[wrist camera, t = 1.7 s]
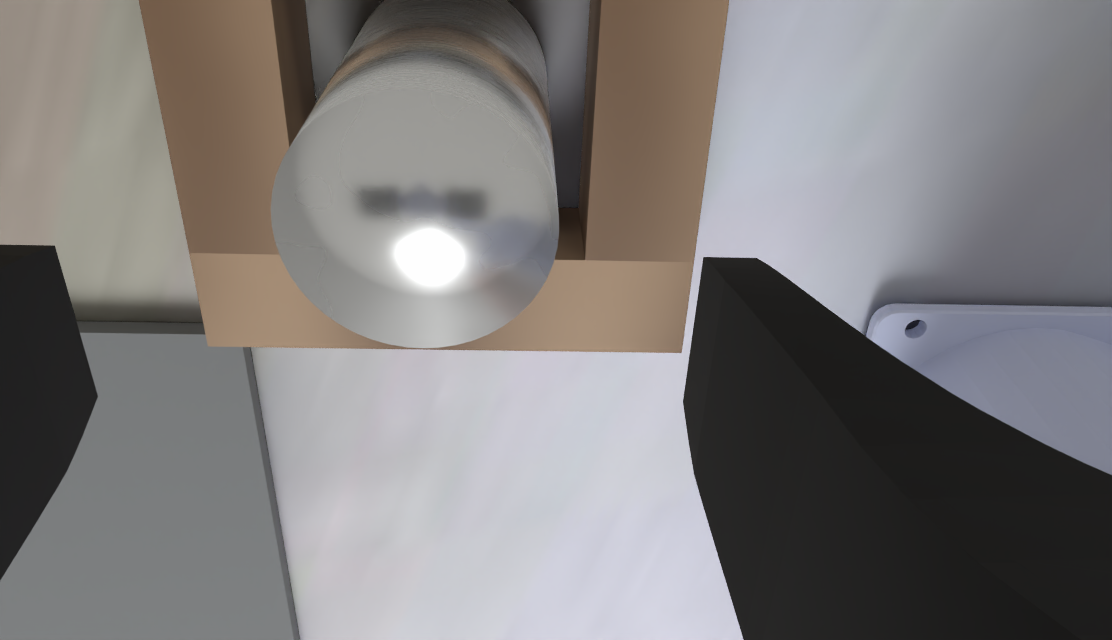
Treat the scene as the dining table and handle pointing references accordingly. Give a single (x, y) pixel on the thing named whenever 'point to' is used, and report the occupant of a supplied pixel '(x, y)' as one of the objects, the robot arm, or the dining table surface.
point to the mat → (158, 504)
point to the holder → (584, 233)
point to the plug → (425, 177)
